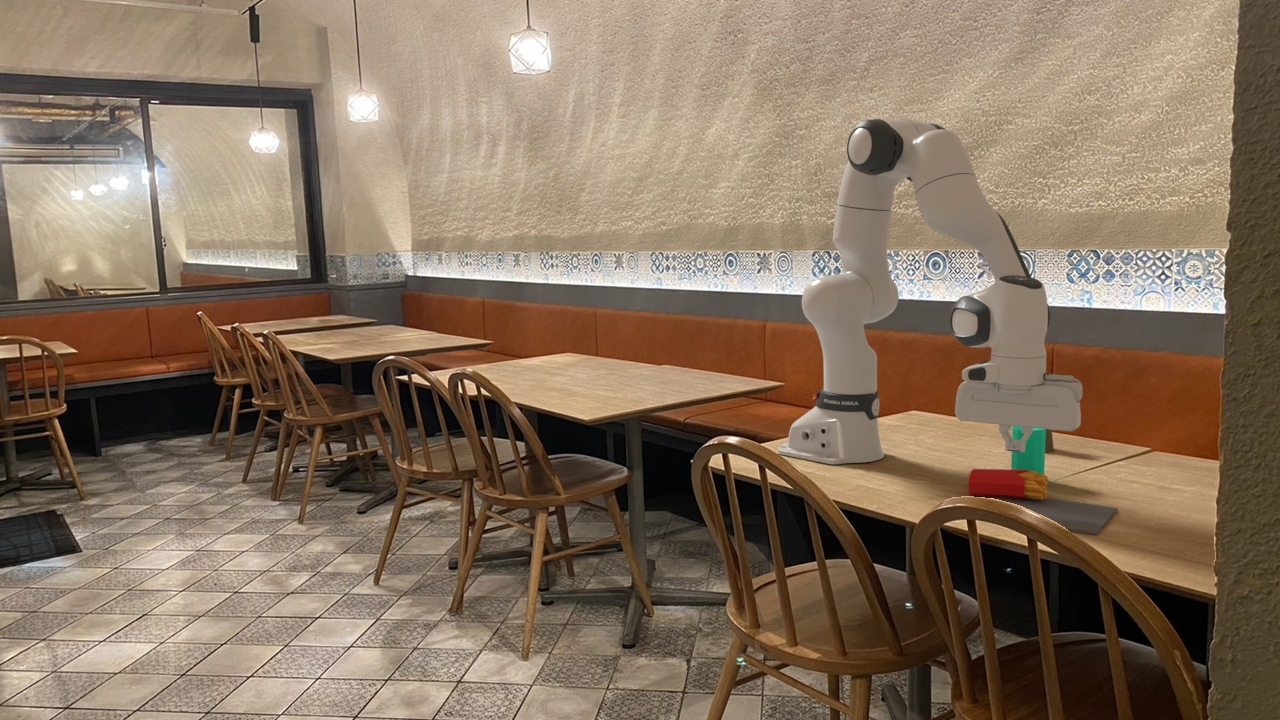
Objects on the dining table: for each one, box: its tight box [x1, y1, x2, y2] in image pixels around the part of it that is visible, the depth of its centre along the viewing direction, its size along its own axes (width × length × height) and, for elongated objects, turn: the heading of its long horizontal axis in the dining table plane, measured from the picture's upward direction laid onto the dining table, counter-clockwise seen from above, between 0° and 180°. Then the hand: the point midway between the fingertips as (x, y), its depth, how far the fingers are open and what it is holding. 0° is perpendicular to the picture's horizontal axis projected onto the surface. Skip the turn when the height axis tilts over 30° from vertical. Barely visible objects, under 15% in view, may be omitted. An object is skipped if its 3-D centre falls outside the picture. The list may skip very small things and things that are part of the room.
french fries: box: [967, 468, 1049, 500], centre depth 179 cm, size 9×4×13 cm
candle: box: [1010, 426, 1046, 475], centre depth 189 cm, size 6×6×12 cm
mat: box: [989, 497, 1118, 536], centre depth 169 cm, size 20×16×1 cm
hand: (1015, 451), depth 171 cm, fingers closed
